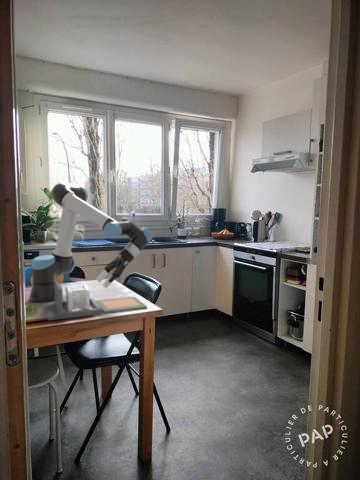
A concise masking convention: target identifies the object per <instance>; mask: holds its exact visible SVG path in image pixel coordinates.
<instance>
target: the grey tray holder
mask: <svg viewBox="0 0 360 480" xmlns="http://www.w3.org/2000/svg"><path fill="white" fill-rule="evenodd" d="M96 301H97V300H95V299H94V298H91V297H90V305H91V306H92V307H93V308H90V309H89V310H85V309H80V310H73V311H71V312H68V311H64V310H63V308H64V306H65V307H67V306H66V300H63V287H62V286H61V284H60V282H59V281H58V279H55V280H54V303H52V304H44V305H43V309H44V312H45V317H46V319H47V321H55V320H64V319H71V318H80V317H87V316H88V317H89V316H97V315H101V314H103V311H102V309H101V307H100V306H99V305H98V304H97V303H96Z"/></svg>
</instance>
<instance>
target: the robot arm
mask: <svg viewBox="0 0 360 480" xmlns="http://www.w3.org/2000/svg"><path fill="white" fill-rule="evenodd" d="M51 198H52V201H54V203H56V204H57V205H58V206H60V207H61V209H62V210H61V216H60V222H59V227H58V234H57V238H56V244H55V249H54V250H52V252H51V254H46V255H45V254H44V255H39V256H36V257H34V258H33V259H32V261H31V274H32V287H31V290H30V294H29V301H30V302H33V303H47V302H49V303H50V302H52V301H54V280H56V278H58V277H60V276H66V275H68V274H70V273H72V272H73V270H74V269H75V267H76V260H75V258H74V253H73V252H72V248H73V247H72V246H73V241H74V237H75V231H76V226H77V219H78V216H80V217H81V218H83V219H84V220H86V221H87V222H89V223H91V224H92V225H94V226H96V227H97V228H98V229H101V230H102V231H103V233H104V234H105V235H106V237H108V238H115V239H116V238H119V237H124V236H126V237H127V238H128V239H130V241H129V242H128V243H127V244H126V245H125V246H124V248H122V250H121V251H120V252H119V253H118V254H119V255H120V256H116V257H115V258H114V259H113V260H112V261H111V262H110V263H108V264H107V265H106V266H104V270H103V271H102V272H101V273H100V274H99V275H98V276H97V277H96V278H95V279H96V281H97V282H98V283H101V282H102V281H103V280H104V279H105V278H106V277H107V275H108V274H110V272H111V271H113V272H112V273H111V275H110V276H109V277H107V279H106V280H105V281H104V282H103V283H102V284H101V285H102V286H103V287H104V288H105V289H108V287H109V286H110V285H111V284H112V283H113V282H114V281H115V280H116V279H119V278H120V277H121V275H122V274H123V272H124V270H125V269H126V268H127V266H129V264H130V263H131V262H132V261H134V259H135V258H136V257H137V256H139V254H140V252H142V251H143V249H144V248H145V247H146V246H147V245H148V244H149V243H150V242H151V241H152V239H153V237H154V234H153V232H152V231H150V230H149V228H147V227H142V228H140V227H139V226H137V225H136V224H135V223H134V222H132V221H131V219H129V218H127V217H125V216H122V217H120V218H119V219H118V220H116V219H114V218H112V217H111V216H109V215H107V214H106V213H104V212H103V211H101V210H99V209H97V208H96V207H94V206H93V205H91V204H90V203H88V199H89V197H88V191H87V190H86V188H85V187H84V186H83V185H82V184H81V185H80V184H78V183H69V182H67V183H66V182H60V183H57V184H55V185H54V186H53V187H52V189H51Z"/></svg>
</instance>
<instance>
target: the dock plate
mask: <svg viewBox="0 0 360 480" xmlns="http://www.w3.org/2000/svg"><path fill="white" fill-rule="evenodd" d="M95 301H96V303H97V304H98V305H99V306H100V307H101V309H102V313H103V314H111V313H119V312H126V311H127V312H128V311H135V310H144V309H147V308H148V306H147V305H146V304H145V303H143V302H142V301H141V300H139V298H137V297H135V296H129V297H120V298H108V299H99V300H95Z"/></svg>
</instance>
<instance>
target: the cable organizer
mask: <svg viewBox="0 0 360 480" xmlns="http://www.w3.org/2000/svg"><path fill="white" fill-rule="evenodd" d="M71 287H72V286H71V285H66V287H65V289H64V291H65V301H66V306H65V307H66V310H67V311H66V312H71V311H77V309H79V308H80V309H81V310H89V309H91V308H90V307H91V306H90V305H91V304H90V299H91V297H90V288H89V287H88V285H87V284H83V285H82V288H78V289H72V288H71Z"/></svg>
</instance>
